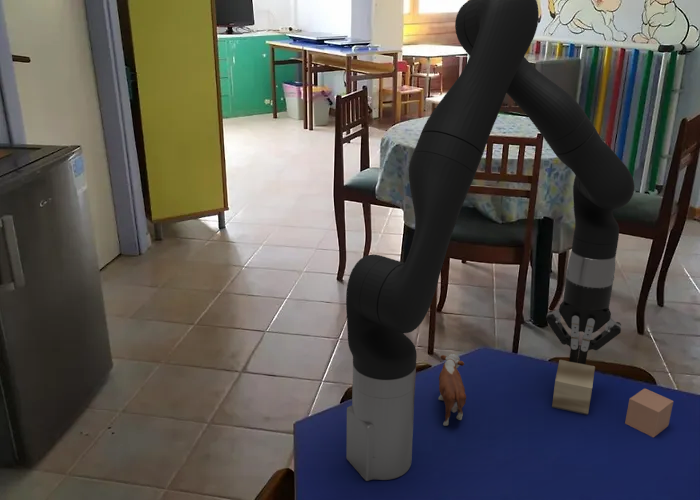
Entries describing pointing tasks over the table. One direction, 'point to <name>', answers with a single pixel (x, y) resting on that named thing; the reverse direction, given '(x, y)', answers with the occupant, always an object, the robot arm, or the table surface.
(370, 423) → the robot arm
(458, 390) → the bull figurine
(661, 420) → the terracotta block
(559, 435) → the table surface
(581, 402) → the oak block
